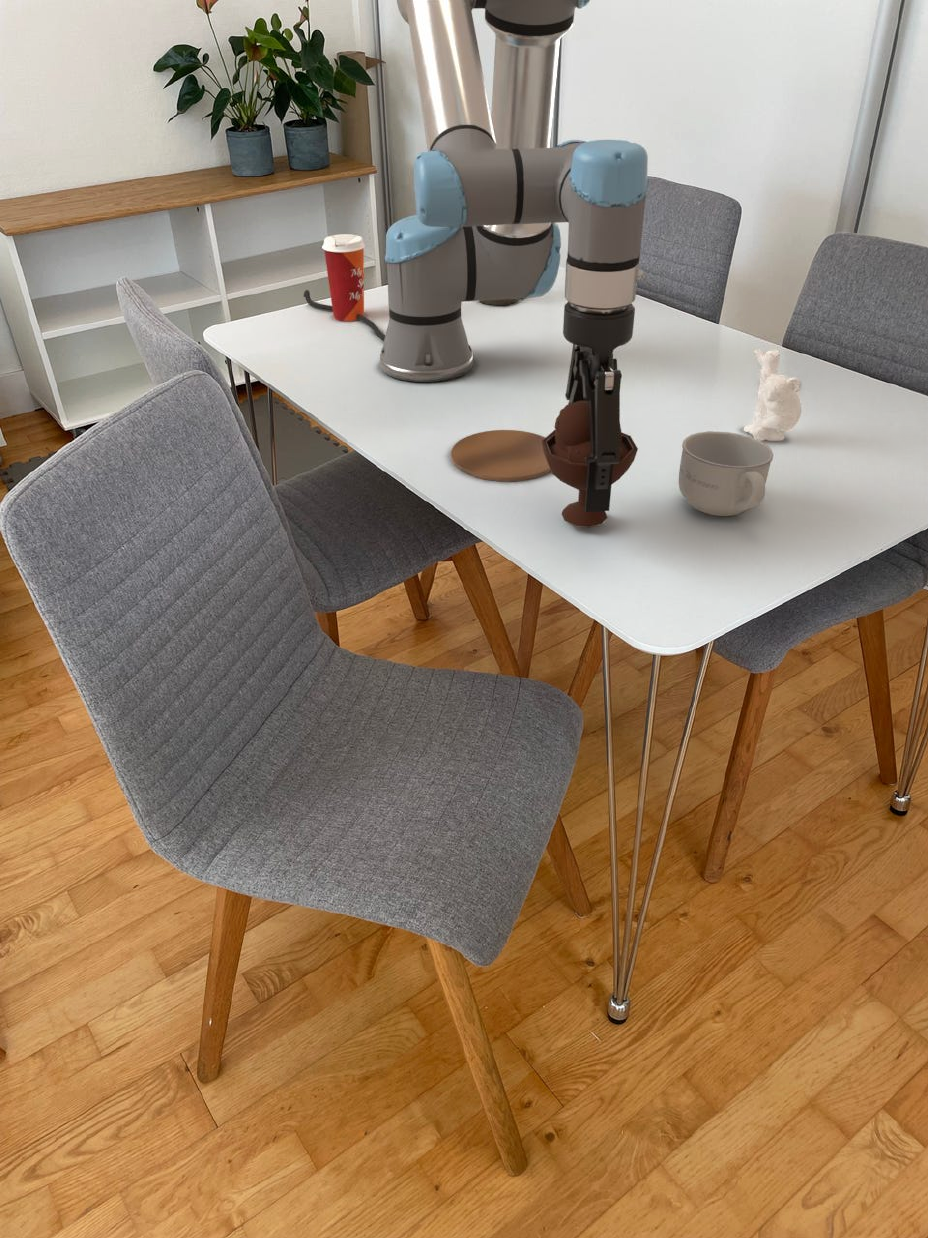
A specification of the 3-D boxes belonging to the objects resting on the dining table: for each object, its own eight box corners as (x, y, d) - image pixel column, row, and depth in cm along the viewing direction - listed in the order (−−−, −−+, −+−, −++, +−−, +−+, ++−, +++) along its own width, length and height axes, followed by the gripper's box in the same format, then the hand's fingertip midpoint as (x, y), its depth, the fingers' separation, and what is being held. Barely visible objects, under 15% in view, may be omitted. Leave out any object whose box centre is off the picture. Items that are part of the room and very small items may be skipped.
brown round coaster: (428, 460, 137) (428, 456, 137) (496, 424, 147) (496, 420, 146) (516, 492, 129) (516, 488, 129) (581, 452, 139) (582, 448, 139)
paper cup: (367, 323, 184) (362, 244, 176) (325, 323, 184) (318, 244, 176) (371, 309, 190) (366, 232, 182) (330, 309, 191) (324, 232, 183)
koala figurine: (728, 430, 145) (740, 348, 138) (765, 421, 147) (779, 341, 140) (766, 453, 138) (781, 369, 131) (804, 443, 141) (821, 360, 134)
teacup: (665, 486, 130) (672, 429, 126) (747, 482, 131) (757, 425, 126) (695, 541, 119) (703, 480, 114) (784, 536, 120) (796, 476, 115)
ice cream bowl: (627, 542, 117) (639, 423, 108) (532, 533, 119) (536, 415, 110) (633, 499, 125) (645, 385, 117) (544, 491, 127) (549, 378, 119)
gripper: (663, 339, 98) (641, 534, 110) (610, 268, 117) (597, 441, 130) (586, 342, 97) (573, 537, 110) (546, 270, 116) (539, 443, 129)
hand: (586, 485), depth 120 cm, fingers closed on ice cream bowl, 11 cm apart
